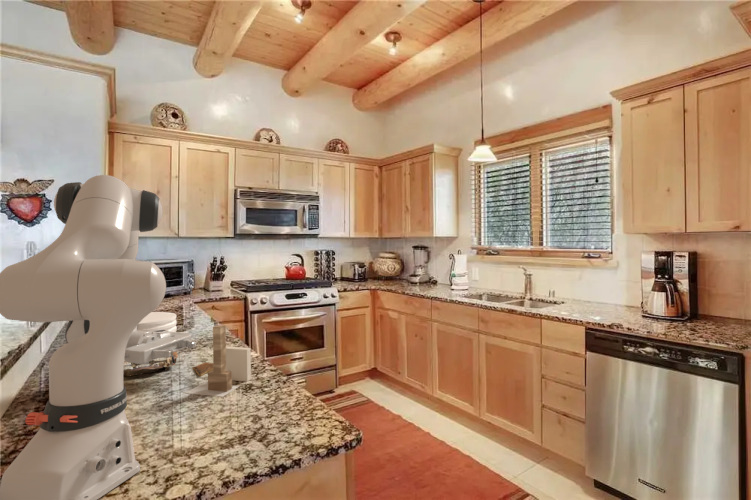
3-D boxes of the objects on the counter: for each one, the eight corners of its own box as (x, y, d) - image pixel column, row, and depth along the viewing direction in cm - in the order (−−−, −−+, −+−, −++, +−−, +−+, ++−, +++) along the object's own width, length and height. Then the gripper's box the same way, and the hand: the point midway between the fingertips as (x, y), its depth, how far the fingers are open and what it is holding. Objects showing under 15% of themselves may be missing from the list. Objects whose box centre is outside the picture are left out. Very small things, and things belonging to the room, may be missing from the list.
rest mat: (222, 398, 107) (222, 396, 107) (184, 394, 110) (184, 392, 110) (239, 387, 115) (239, 386, 115) (203, 384, 118) (203, 382, 118)
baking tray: (186, 372, 131) (186, 356, 131) (106, 386, 118) (106, 368, 118) (169, 352, 155) (169, 338, 155) (101, 361, 142) (101, 346, 141)
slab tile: (247, 382, 119) (246, 349, 119) (223, 380, 121) (223, 348, 121) (251, 380, 121) (250, 347, 121) (228, 378, 123) (227, 346, 123)
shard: (200, 379, 123) (200, 373, 123) (178, 377, 125) (178, 372, 125) (221, 368, 134) (221, 363, 134) (201, 367, 136) (201, 362, 136)
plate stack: (111, 340, 174) (110, 314, 173) (181, 335, 182) (181, 310, 182) (85, 357, 147) (85, 326, 147) (169, 351, 155) (169, 321, 155)
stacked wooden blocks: (226, 391, 111) (226, 327, 110) (208, 389, 112) (207, 326, 112) (231, 388, 113) (231, 325, 113) (213, 387, 115) (212, 324, 114)
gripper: (112, 344, 109) (155, 348, 105) (168, 328, 129) (205, 330, 125) (113, 367, 109) (155, 371, 106) (168, 347, 129) (205, 350, 126)
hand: (183, 349), depth 116 cm, fingers open, 8 cm apart
